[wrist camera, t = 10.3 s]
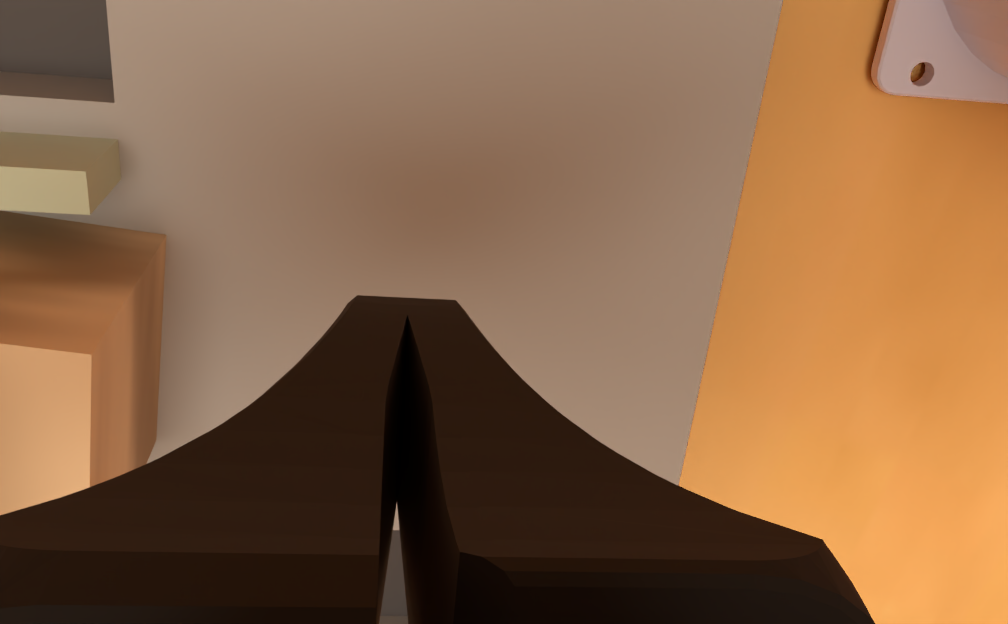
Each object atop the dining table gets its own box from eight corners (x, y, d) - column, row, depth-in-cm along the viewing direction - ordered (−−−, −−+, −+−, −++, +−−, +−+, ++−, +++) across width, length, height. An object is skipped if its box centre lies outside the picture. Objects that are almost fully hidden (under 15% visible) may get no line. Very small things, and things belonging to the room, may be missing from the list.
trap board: (771, -124, 19) (855, -116, 15) (621, 625, 28) (653, 741, 24) (-202, -228, 17) (-368, -248, 13) (-30, 621, 25) (-103, 748, 22)
